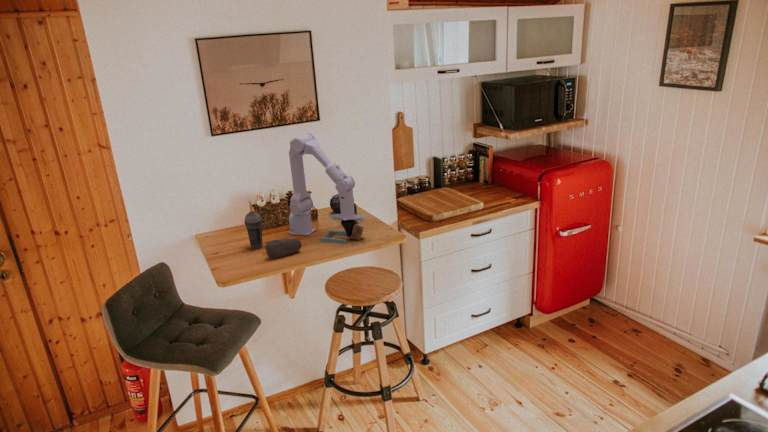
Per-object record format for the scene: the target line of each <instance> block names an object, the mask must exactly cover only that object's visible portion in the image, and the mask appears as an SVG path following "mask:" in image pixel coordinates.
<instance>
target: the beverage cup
mask: <svg viewBox="0 0 768 432" xmlns="http://www.w3.org/2000/svg"><path fill="white" fill-rule="evenodd" d="M248 203H249V207H250V211H249V212H248V213H247V214H246V215H245V216H244V225H245V228H246V231H247V235H248V240H249V243H250V246H251V249H253V250H258V249H259V250H260V249H262V248H263V226H262V225H263V219H262V215H261V214H260V213H258V212H257V211H253V210H252V209H253V208H252V202H251V201H250V200H249V202H248Z"/></svg>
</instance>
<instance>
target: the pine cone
mask: <svg viewBox="0 0 768 432" xmlns="http://www.w3.org/2000/svg"><path fill="white" fill-rule="evenodd" d="M329 207H330V208H331V210H332V215H333V214H341V209H340V197H339V193H337V194H334V195H332V197H331V198H330V201H329Z"/></svg>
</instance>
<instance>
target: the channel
mask: <svg viewBox="0 0 768 432" xmlns="http://www.w3.org/2000/svg"><path fill="white" fill-rule="evenodd" d="M334 236H347V234H346V231H345V230H330V229H329V230H328V234H326V235H325V236H324V237H319V242H321V243H323V242H324V243H325V242H326V243H333V244H334V243H336V244H347V243H348V240H347V239H346V238H333V237H334Z"/></svg>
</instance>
